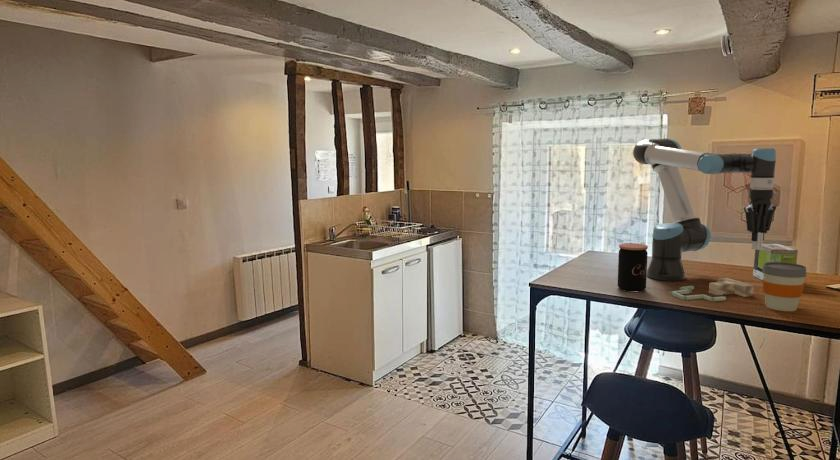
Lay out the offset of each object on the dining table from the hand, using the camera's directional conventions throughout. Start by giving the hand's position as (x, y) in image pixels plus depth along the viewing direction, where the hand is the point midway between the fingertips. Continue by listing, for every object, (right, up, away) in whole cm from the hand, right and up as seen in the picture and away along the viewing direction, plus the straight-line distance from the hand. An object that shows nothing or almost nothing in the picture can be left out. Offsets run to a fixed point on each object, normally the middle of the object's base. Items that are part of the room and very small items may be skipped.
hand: (756, 249), depth 198 cm
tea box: (+18, -14, +16) cm, 28 cm away
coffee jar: (-46, -17, +8) cm, 49 cm away
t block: (-12, -17, 0) cm, 21 cm away
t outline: (-26, -18, -3) cm, 32 cm away
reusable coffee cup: (-5, -20, -20) cm, 29 cm away
